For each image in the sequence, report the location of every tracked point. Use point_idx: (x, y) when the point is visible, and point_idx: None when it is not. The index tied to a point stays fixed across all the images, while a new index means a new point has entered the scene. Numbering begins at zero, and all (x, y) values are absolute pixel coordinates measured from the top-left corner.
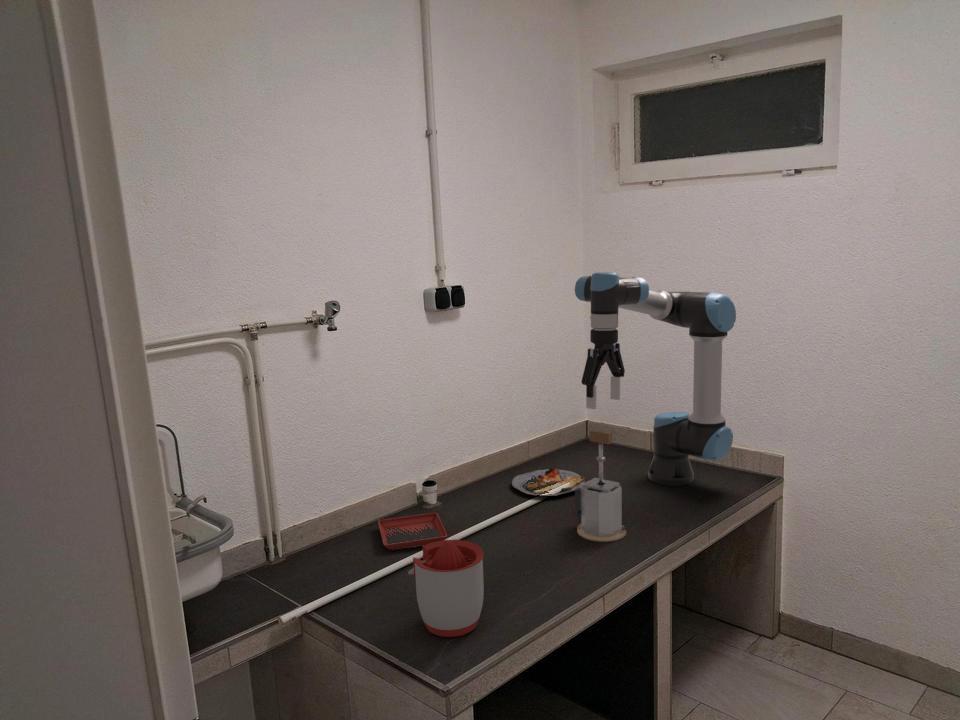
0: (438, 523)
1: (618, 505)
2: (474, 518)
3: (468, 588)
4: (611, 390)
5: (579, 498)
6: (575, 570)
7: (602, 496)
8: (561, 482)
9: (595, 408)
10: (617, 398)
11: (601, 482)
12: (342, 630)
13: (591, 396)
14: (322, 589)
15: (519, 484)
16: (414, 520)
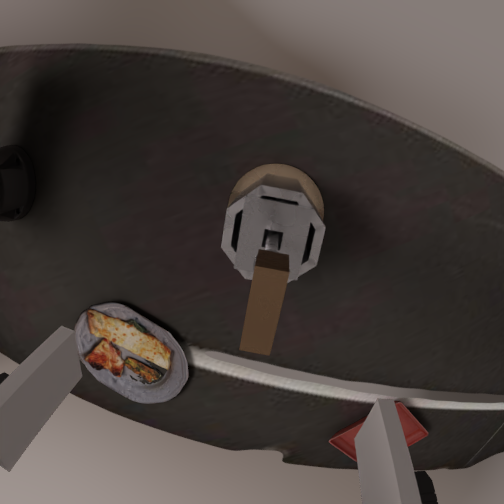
0: (353, 426)
1: (279, 182)
2: (301, 404)
3: None
4: (54, 405)
5: None
6: (435, 206)
7: (319, 217)
8: (113, 340)
9: (388, 402)
10: (70, 344)
11: (277, 238)
12: None
13: (424, 476)
14: (492, 417)
15: (156, 391)
16: (346, 447)
